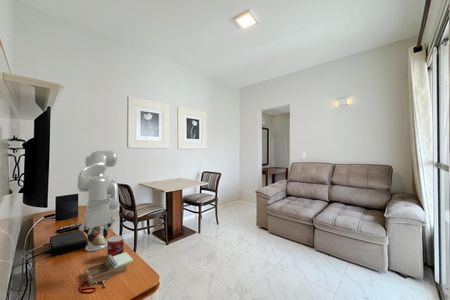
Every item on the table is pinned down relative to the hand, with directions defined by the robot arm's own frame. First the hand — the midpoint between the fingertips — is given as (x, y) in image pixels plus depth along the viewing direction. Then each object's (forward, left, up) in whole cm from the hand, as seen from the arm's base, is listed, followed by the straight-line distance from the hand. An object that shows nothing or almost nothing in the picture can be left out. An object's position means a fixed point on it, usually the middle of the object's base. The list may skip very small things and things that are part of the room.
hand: (97, 239), depth 92 cm
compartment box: (0, +3, -18) cm, 18 cm away
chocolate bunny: (0, 0, -2) cm, 2 cm away
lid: (0, +10, -14) cm, 18 cm away
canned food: (-12, +11, -18) cm, 24 cm away
